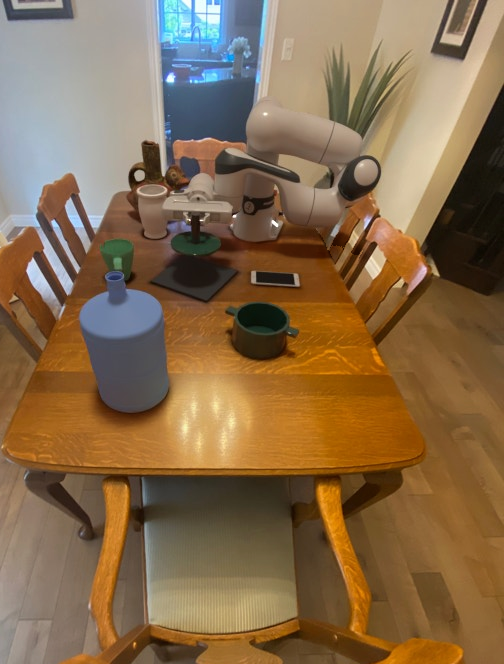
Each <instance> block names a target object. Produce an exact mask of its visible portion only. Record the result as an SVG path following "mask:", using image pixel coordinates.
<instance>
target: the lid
mask: <svg viewBox="0 0 504 664" xmlns="http://www.w3.org/2000/svg"><path fill="white" fill-rule="evenodd" d="M170 247H171V249H172V250H173V251H174V252H176V253H178V254H180V255H182V256H183V255H186V256H193V257H205V256H206V257H207V256H210V255H212V254H215V253H216V252H218V250H220V249H221V240H220V238H219V237H218V236H217V235H215V234H213V233H210V232H207V231H201V226H200V213H199V212H192V213H191V226H190V230H189V231H183V232H180V233H177V234H176V235H174V236H173V237H172V238H171V239H170Z"/></svg>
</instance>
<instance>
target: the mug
mask: <svg viewBox="0 0 504 664" xmlns="http://www.w3.org/2000/svg"><path fill="white" fill-rule="evenodd" d="M99 251H100V254H101V257H102V259H103V261H104V264H105V266H106V268H107V270H108V272H113V271H118V272H122V273H123V274H124V282H126V281H128V280H129V279H130V277H131V274H132V269H133V263H134V256H135V255H134V253H135V245H134V243H133V242H132V241H130V240H128V239H126V238H125V239H124V238H112V239H108V240H104V242H103V244H102V243H101V244H100V245H99Z"/></svg>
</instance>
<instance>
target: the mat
mask: <svg viewBox="0 0 504 664" xmlns="http://www.w3.org/2000/svg"><path fill="white" fill-rule="evenodd" d="M238 273H239V270H238V269H235V268H232V267H228V266H226V265H222V264H219V263H215V262H213V261H209V260H207V259H202V258H201V257H200V258H199V257H198V256H186V255H182V256H181V257H180V258H178V259H176V260H175V261H174V262H173V263H172V264H170V265H169V266H168V267H167V268H165V269H164V270H162V271H161V272H160V273H159V274H157V275H156V276H155V277H153V278H152V279H151V280H150V283H151V284H153V285H156V286H159V287H161V288H164V289H166V290H170V291H173V292H175V293H178V294H181V295H184V296H186V297H190V298H192V299H195V300H197V301H200V302H204V303H208V302H209V301H210V300H211V299H212V298H213V297H215V295H217V294H218V292H220V290H222V289H223V288H224V287H225V286H226V285H227V284H228V283H229V282H230V281H231V280H232V279H233V278H234V277H235V276H236V275H237V274H238Z"/></svg>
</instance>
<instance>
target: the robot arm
mask: <svg viewBox="0 0 504 664" xmlns="http://www.w3.org/2000/svg"><path fill="white" fill-rule="evenodd" d="M245 125H246V126H245V135H246V136H245V137H246V147H245V151H242V150H241V149H238V148H236V147H225V148H223V149H222V150H221V151H220V152H219V153H218V154H217V156H216V157H215V159H214V179H213V178H212V177H211V175H210V174H208V173H205V172H199V173H197V174H196V175H194V176H193V177H192V178H191V179H190V183H189V186H187V187H186V188H182V189H180V190H176V191H171V192H170V197H168V198H167V199H166V200H165V202H164V203H163V206H162V217H163V219H164V220H165V221H168V222H183V223H184V224H185V226H186V227H188V226H189V227H191V213H192V212H199V213H200V227H206V225H207V224H227V225H229V224H230V223H231V222H232V218H233V223H231V224H230V225H229V229H230V230H231V231H232V232H233V235H234V236H235V237H236V238H238V239H239V240H243V241H247V242H253V243H254V242H255V243H258V242H265V241H276V240H278V239H277V238H278V236H279V235H280V232H281V230H282V228H283V226H284V221H282V220H281V219H280V218H279V215H280V216H283V218H284V219H285V220H286V222H287V223H289V224H291V225H293V226H298V227H305V228H331V227H335V226H336V225H337V224H339V222H340V221H341V220H342V218H343V216H344V213H345V210H346V209H349V208H352V207H353V206H355V205H356V204H358V203H360V202H361V201H363V200H364V199H365V198H366V197H367V196H368V195H369V194H370V193H372V192H373V191H374V190H375V188H377V185H378V184H379V182H380V180H381V176H382V167H381V164H380V162H379V160H378V159H377V158H376V157H375V156H373V155H369V154H368V155H367V154H365V155H364V154H363V155H361V153H362V150H363V137H362V136H361V134H359V133H358V132H356V131H355V130H353V129H352V128H350V127H349V126H346V125H344V124H342V123H340V122H336V121H334V120H331V119H328V118H325V117H322V116H319V115H316V114H314V113H310V112H301V111H297V110H292V109H286V108H284V105H283V104H282V102H281V100H279V99H278V98H277V97H275V96H272V95H265V96H262V97H260V98H259V99H258V100H257V101H255V103H254V104H253V105H252V108H251V110H250V112H249V115H248V118H247V120H246V123H245ZM280 155H285V156H290V157H295V158H299V159H301V160H305V161H308V162H310V163H315V164H317V165H319V166H324V167H327V168H328V169H330V170H331V171H332V173H331V175H330V178H329V179H330V181H329V188H319V187H318V188H317V187H311V186H308V185H306V184H304V183H303V182H302V181H301V177H300V175H299V174H298V173H297V172H295V171H293V170H292V169H290V168H287V167H284V166H282V165H279V160H280V159H279V158H280ZM275 186H276V187H277V189H275ZM278 195H279V202H280V209H281V211H280V209H279V207H278V206H277V205H276V203H275V201H276V196H278Z"/></svg>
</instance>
